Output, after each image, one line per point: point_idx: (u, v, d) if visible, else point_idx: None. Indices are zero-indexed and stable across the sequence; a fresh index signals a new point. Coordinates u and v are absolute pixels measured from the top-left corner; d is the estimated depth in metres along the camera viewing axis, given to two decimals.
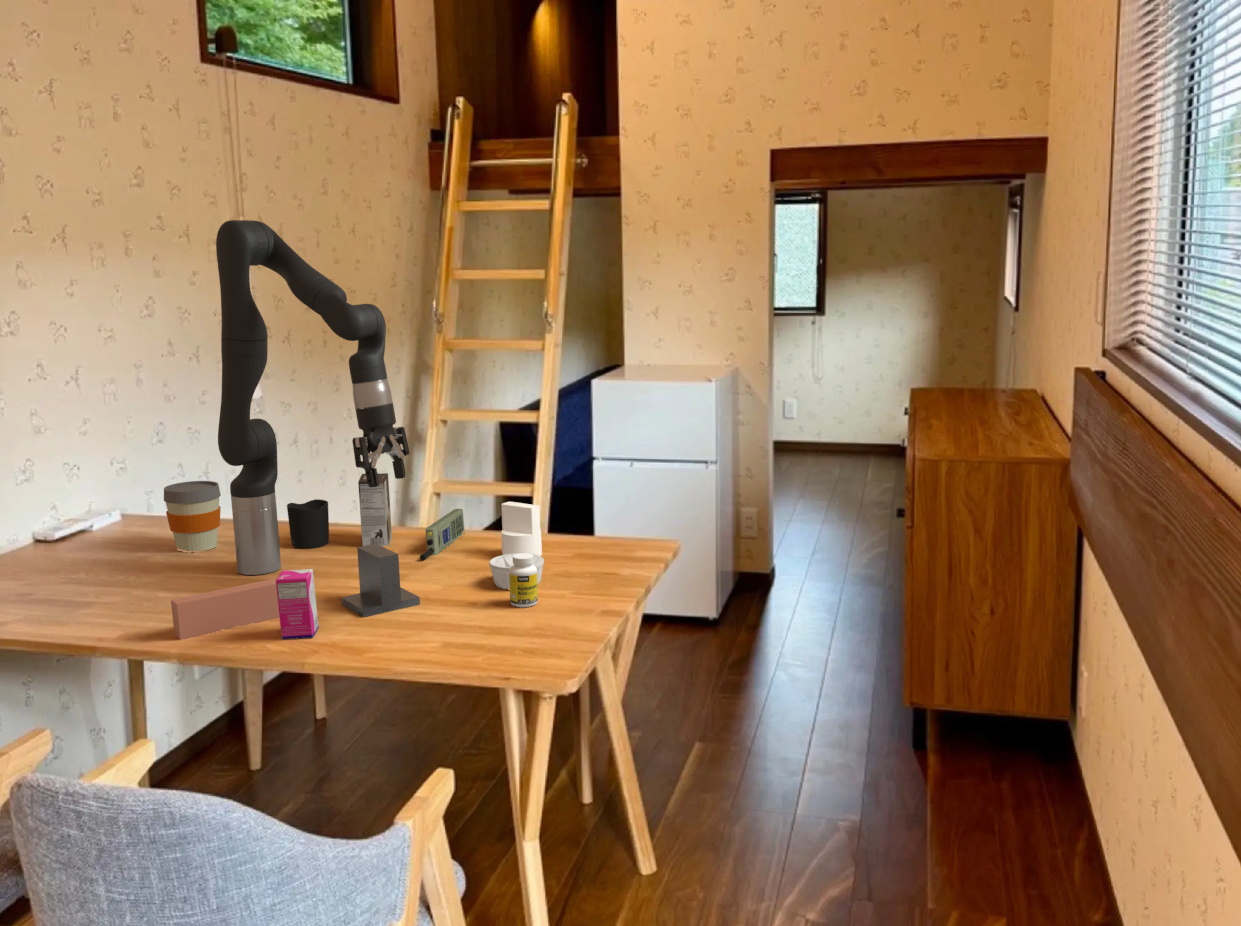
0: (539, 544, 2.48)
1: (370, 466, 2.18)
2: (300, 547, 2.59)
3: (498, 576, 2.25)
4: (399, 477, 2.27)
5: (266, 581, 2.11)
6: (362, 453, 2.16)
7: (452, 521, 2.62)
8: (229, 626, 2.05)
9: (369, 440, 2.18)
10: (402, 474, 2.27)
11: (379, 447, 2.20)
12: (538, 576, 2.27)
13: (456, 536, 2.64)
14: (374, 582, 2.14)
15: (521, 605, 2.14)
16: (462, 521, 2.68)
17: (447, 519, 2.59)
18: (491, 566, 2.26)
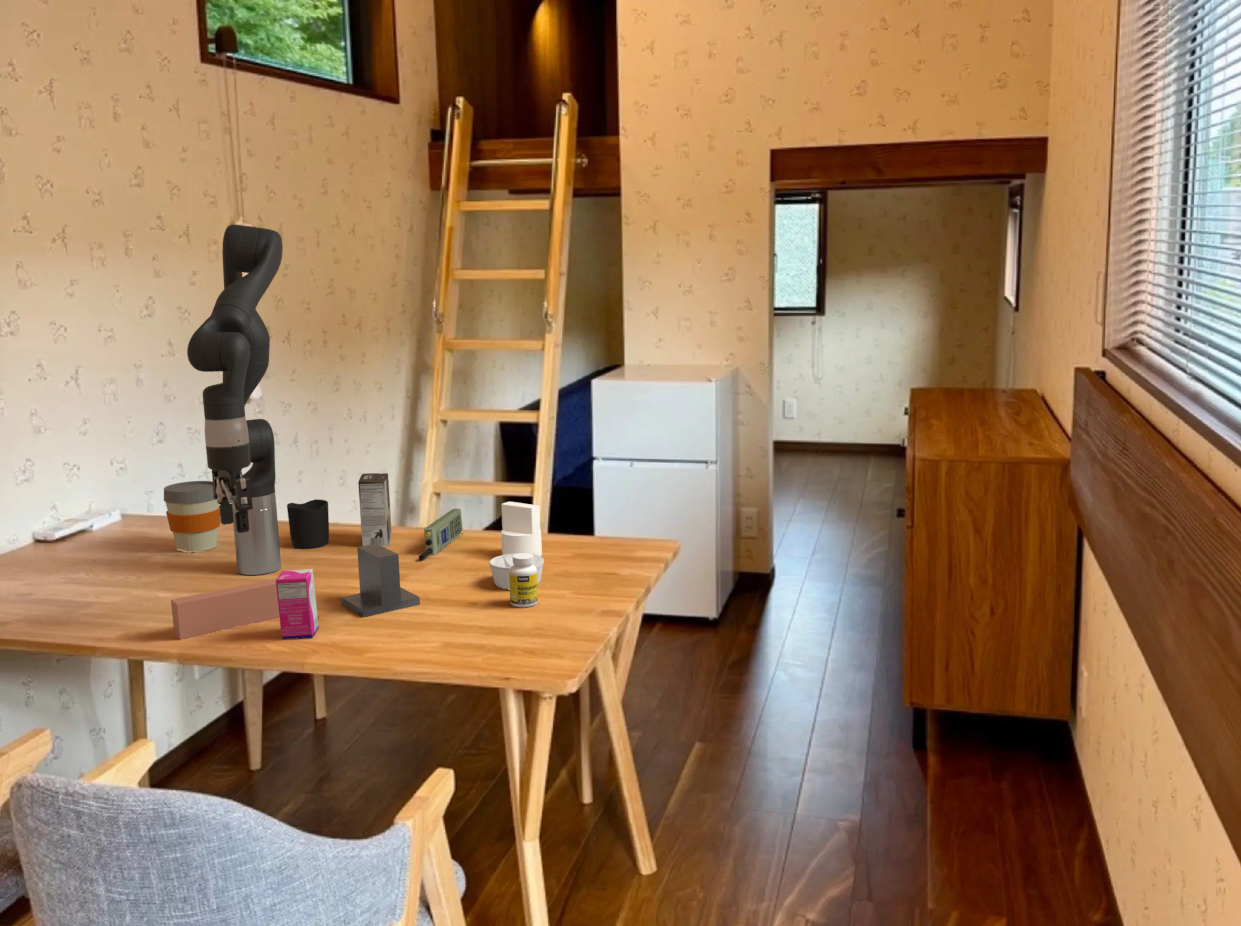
0: (539, 544, 2.48)
1: None
2: (300, 547, 2.59)
3: (498, 576, 2.25)
4: None
5: (266, 581, 2.11)
6: None
7: (450, 521, 2.62)
8: (229, 626, 2.05)
9: None
10: None
11: (217, 487, 2.04)
12: (538, 576, 2.27)
13: (454, 536, 2.64)
14: (374, 582, 2.14)
15: (521, 605, 2.14)
16: (460, 521, 2.69)
17: (445, 519, 2.59)
18: (491, 566, 2.26)
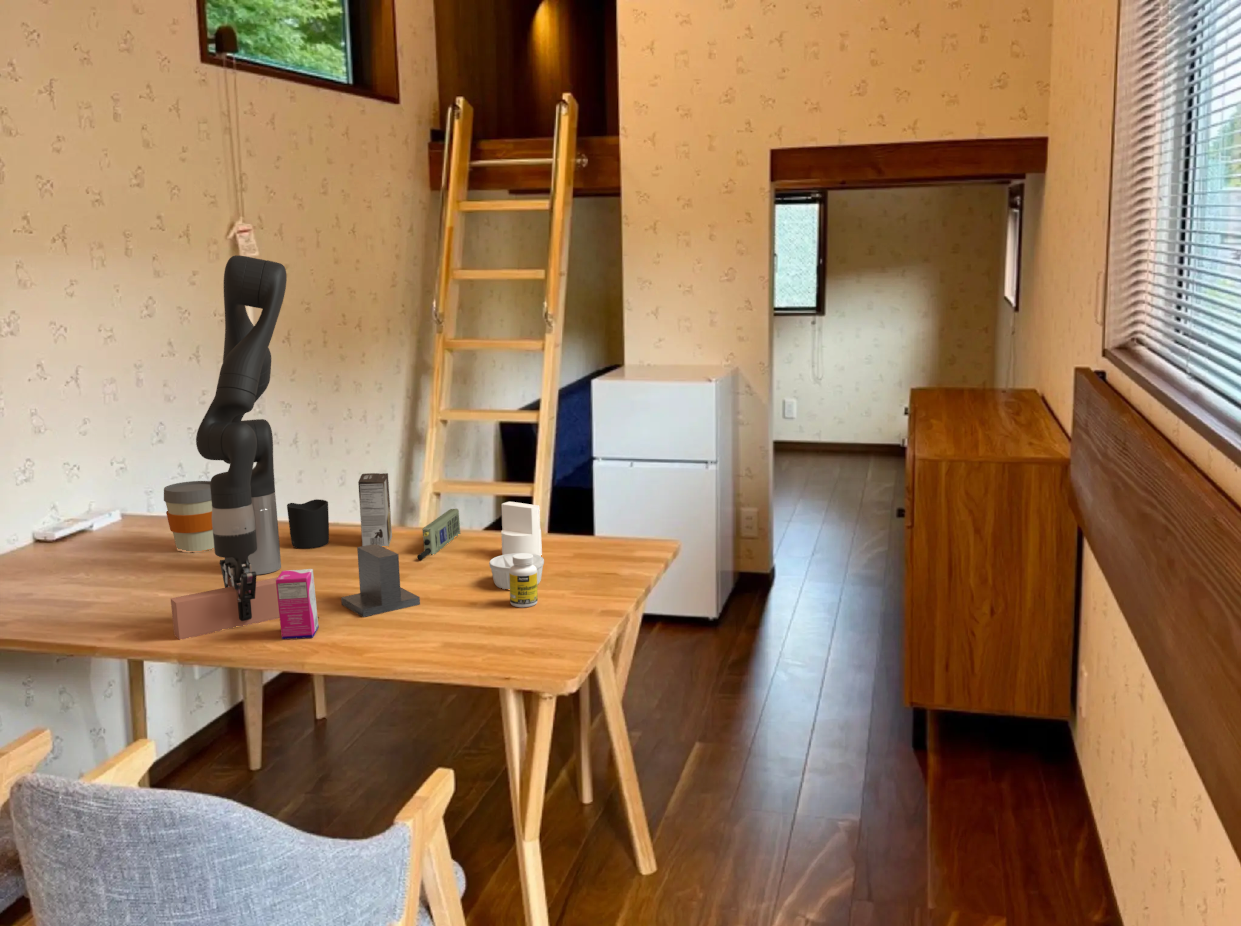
0: (539, 544, 2.48)
1: None
2: (300, 547, 2.59)
3: (498, 576, 2.25)
4: None
5: (266, 580, 2.11)
6: None
7: (448, 521, 2.62)
8: (229, 625, 2.05)
9: None
10: None
11: (225, 574, 2.07)
12: (538, 576, 2.27)
13: (452, 536, 2.64)
14: (374, 582, 2.14)
15: (521, 605, 2.14)
16: (458, 521, 2.69)
17: (443, 519, 2.59)
18: (491, 566, 2.26)
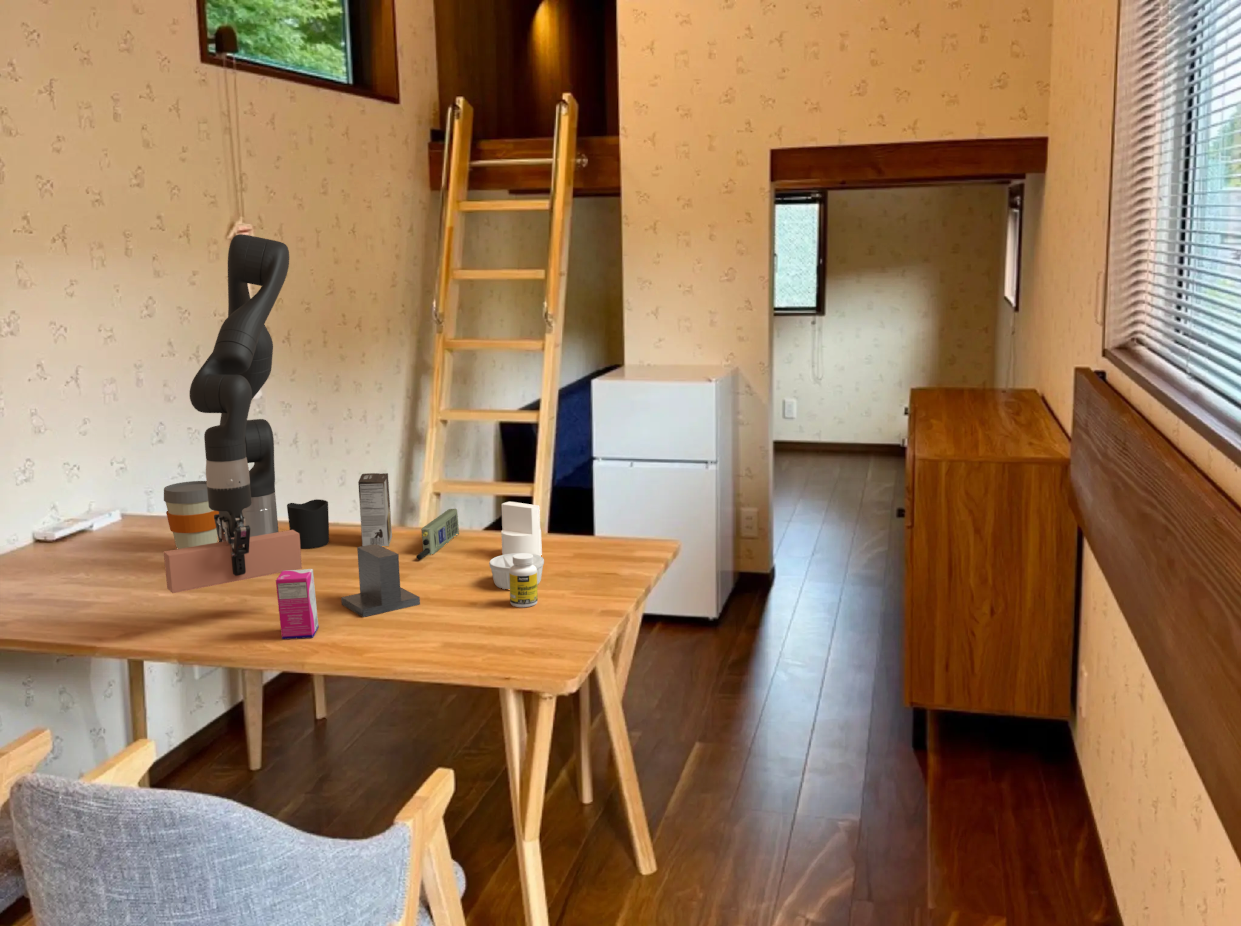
0: (539, 544, 2.48)
1: None
2: (300, 547, 2.59)
3: (498, 576, 2.25)
4: None
5: (261, 536, 2.09)
6: None
7: (447, 521, 2.62)
8: (222, 580, 2.03)
9: None
10: None
11: (219, 529, 2.05)
12: (538, 576, 2.27)
13: (451, 536, 2.64)
14: (374, 582, 2.14)
15: (521, 605, 2.14)
16: (456, 521, 2.69)
17: (442, 519, 2.60)
18: (491, 566, 2.26)
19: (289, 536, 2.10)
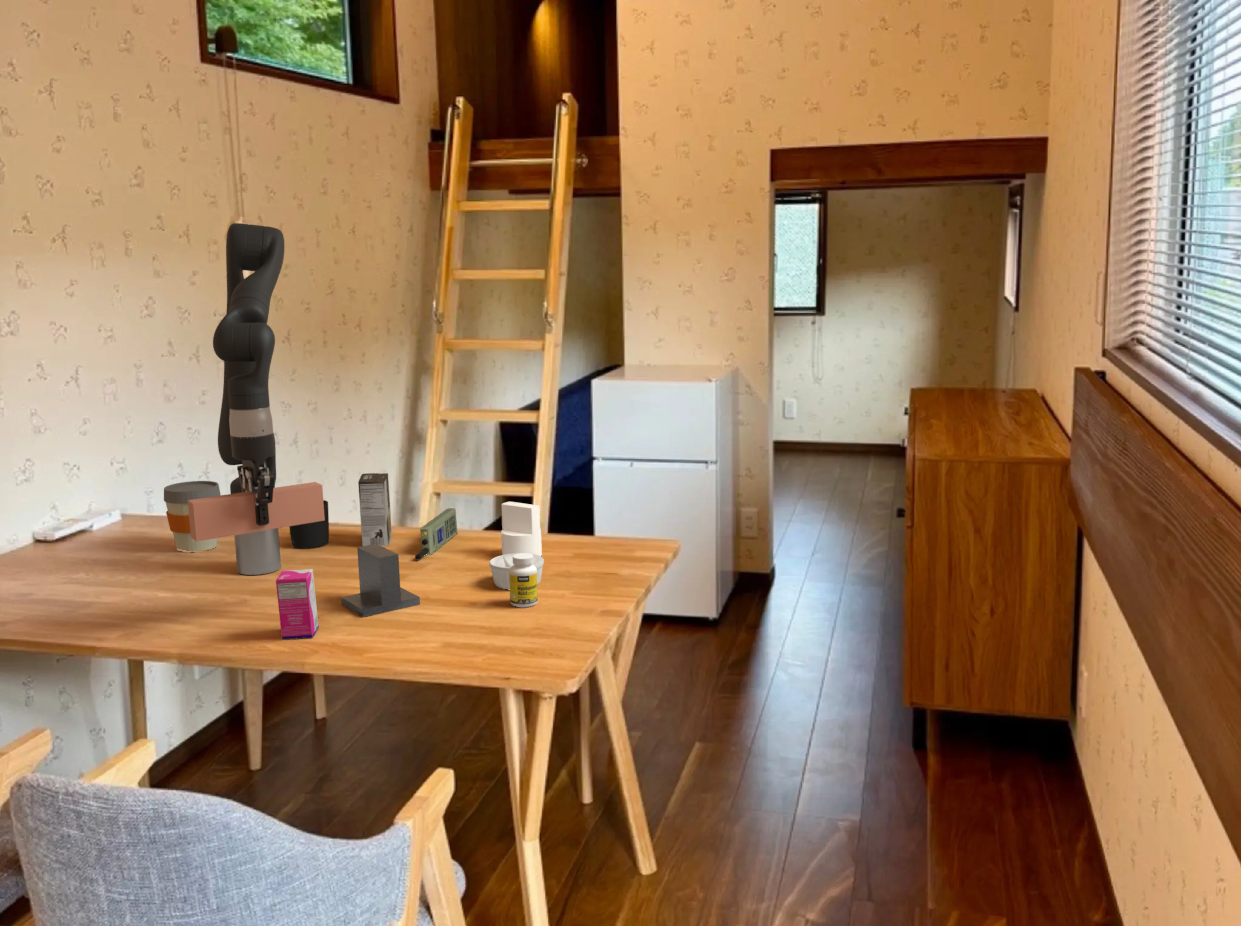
0: (539, 544, 2.48)
1: None
2: (300, 547, 2.59)
3: (498, 576, 2.25)
4: None
5: (284, 487, 2.09)
6: None
7: (446, 521, 2.62)
8: (246, 529, 2.03)
9: None
10: None
11: (243, 479, 2.05)
12: (538, 576, 2.27)
13: (449, 536, 2.64)
14: (374, 582, 2.14)
15: (521, 605, 2.14)
16: (455, 520, 2.69)
17: (441, 519, 2.60)
18: (491, 566, 2.26)
19: (312, 487, 2.09)
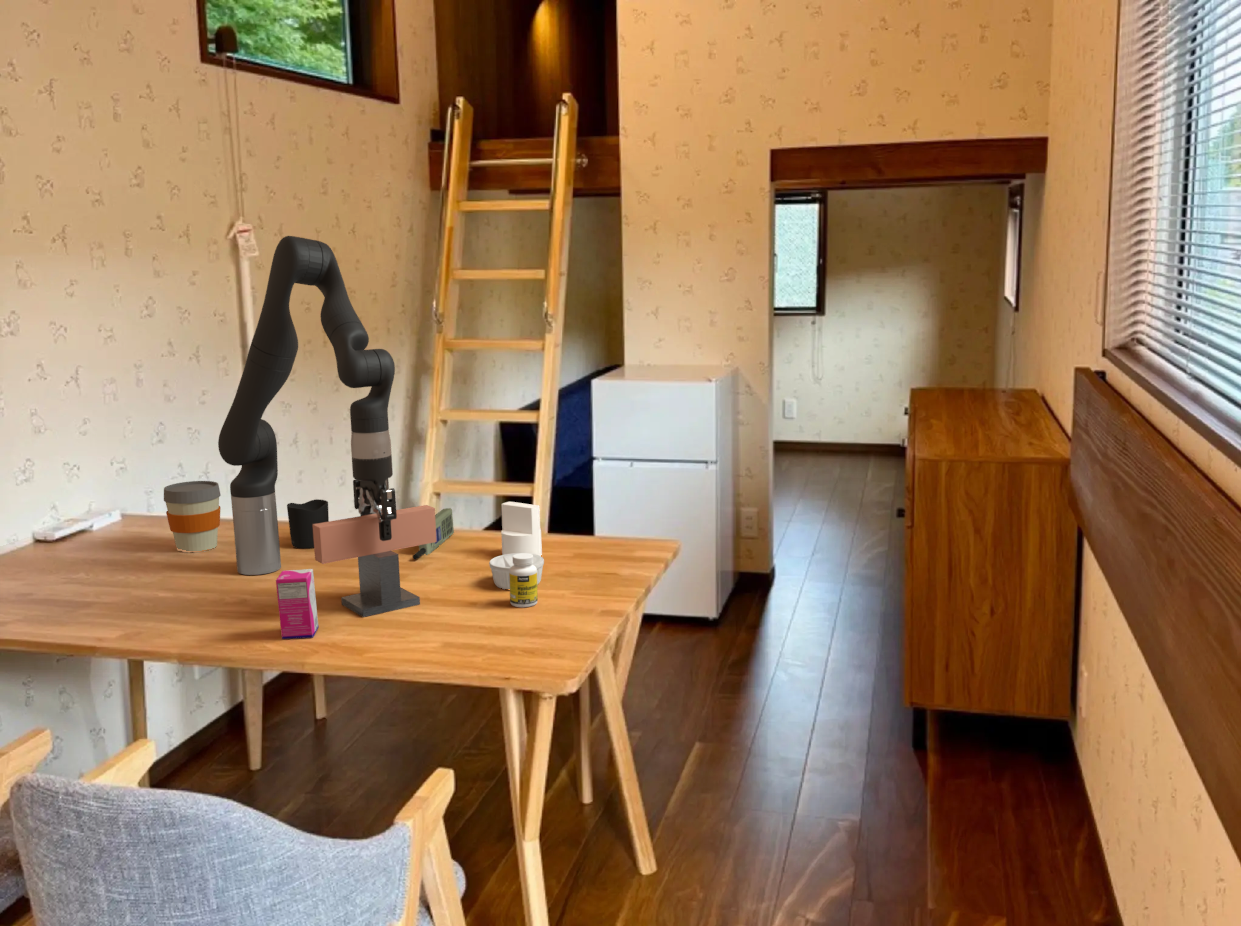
0: (539, 544, 2.48)
1: None
2: (300, 547, 2.59)
3: (498, 576, 2.25)
4: None
5: (399, 510, 2.18)
6: None
7: (442, 521, 2.62)
8: (366, 551, 2.12)
9: None
10: None
11: (360, 496, 2.14)
12: (538, 576, 2.27)
13: (446, 536, 2.65)
14: (374, 582, 2.14)
15: (521, 605, 2.14)
16: (451, 521, 2.69)
17: (438, 519, 2.60)
18: (491, 566, 2.26)
19: (425, 510, 2.19)
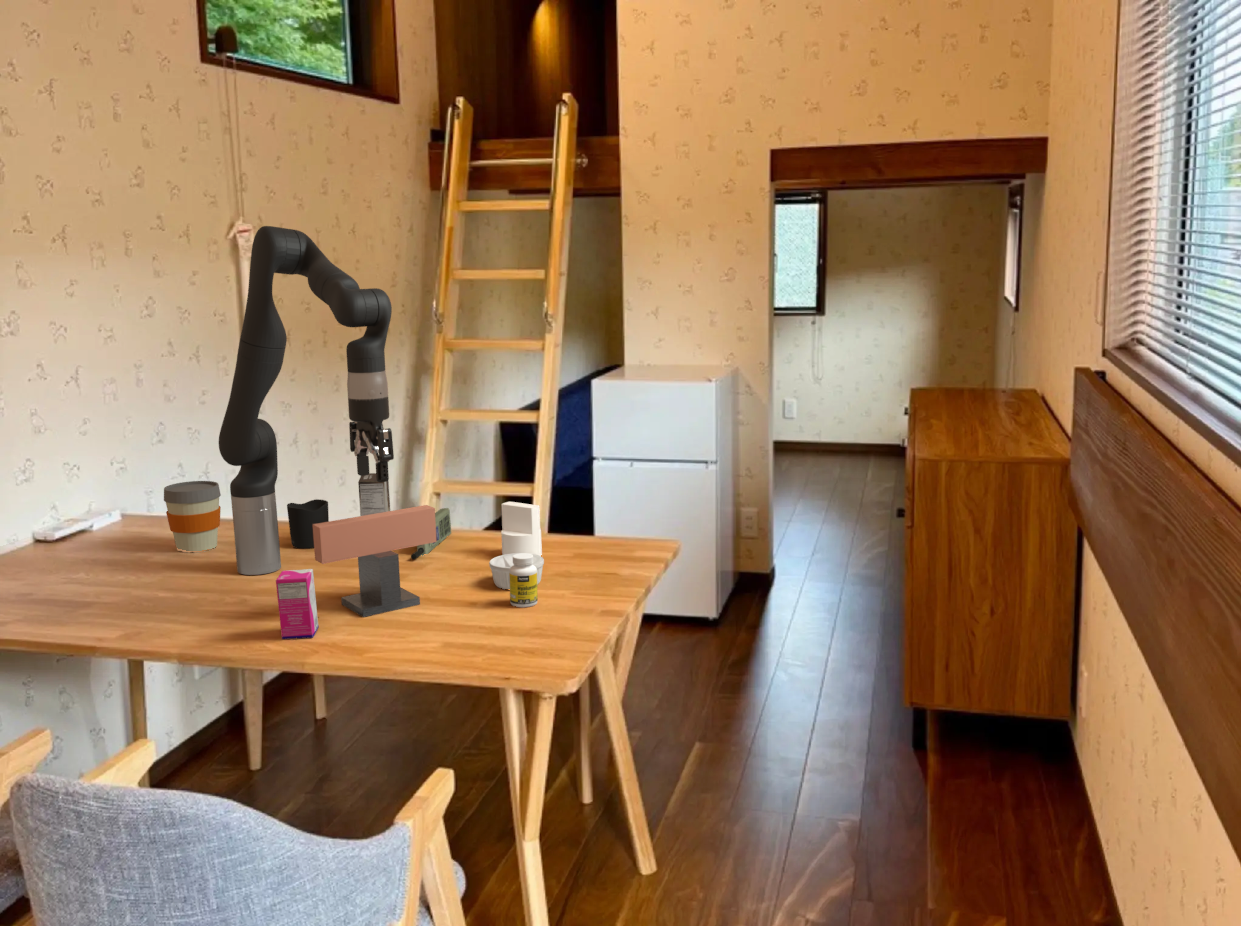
0: (539, 544, 2.48)
1: None
2: (300, 547, 2.59)
3: (498, 576, 2.25)
4: None
5: (399, 510, 2.18)
6: None
7: (440, 520, 2.62)
8: (366, 551, 2.12)
9: None
10: None
11: (356, 438, 2.12)
12: (538, 576, 2.27)
13: (444, 535, 2.65)
14: (374, 582, 2.14)
15: (521, 605, 2.14)
16: (449, 520, 2.69)
17: (435, 518, 2.60)
18: (491, 566, 2.26)
19: (425, 510, 2.19)
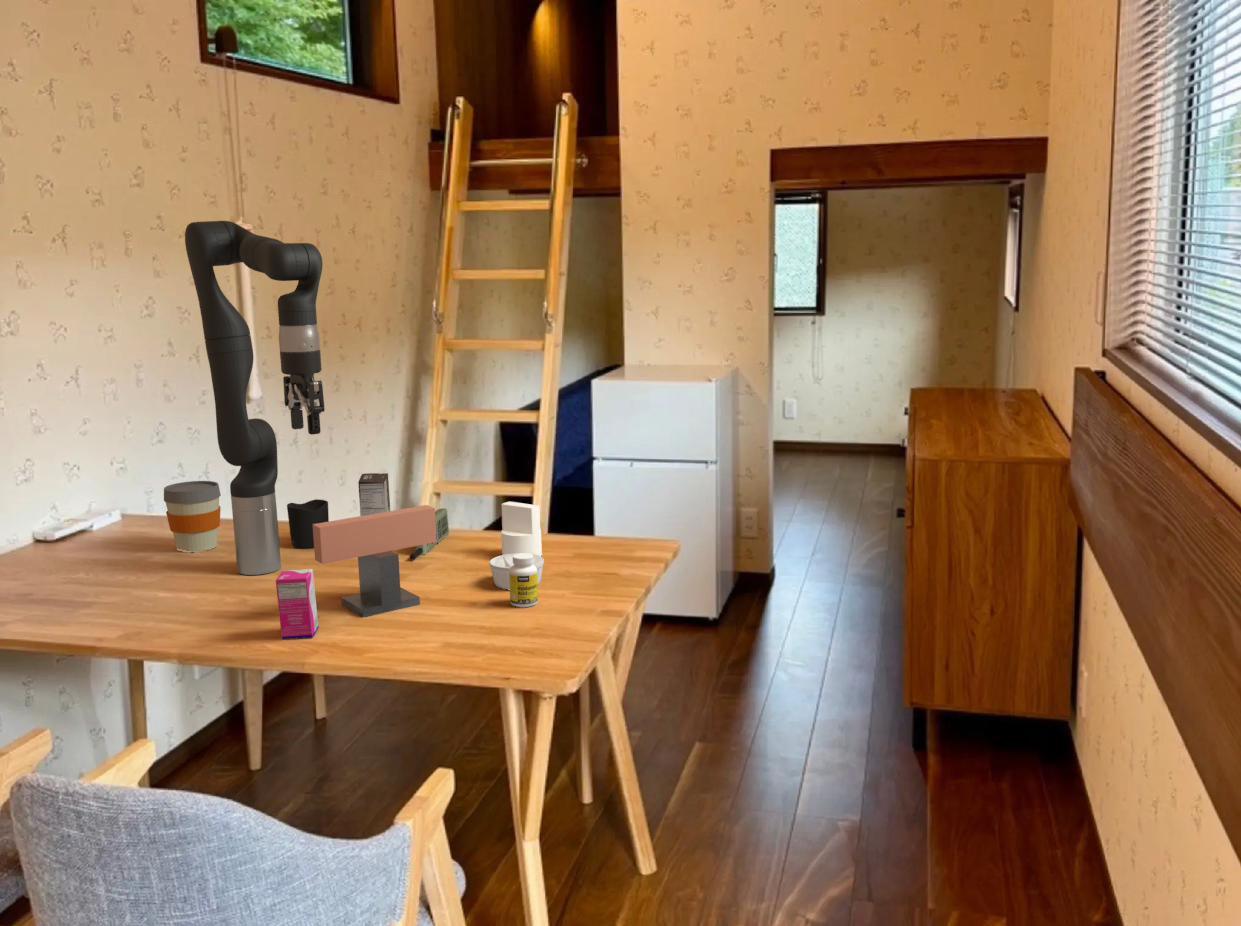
0: (539, 544, 2.48)
1: None
2: (300, 547, 2.59)
3: (498, 576, 2.25)
4: None
5: (399, 510, 2.18)
6: None
7: (438, 521, 2.62)
8: (366, 551, 2.12)
9: None
10: None
11: (289, 392, 2.15)
12: (538, 576, 2.27)
13: (442, 536, 2.65)
14: (374, 582, 2.14)
15: (521, 605, 2.14)
16: (446, 521, 2.69)
17: None
18: (491, 566, 2.26)
19: (425, 510, 2.19)
